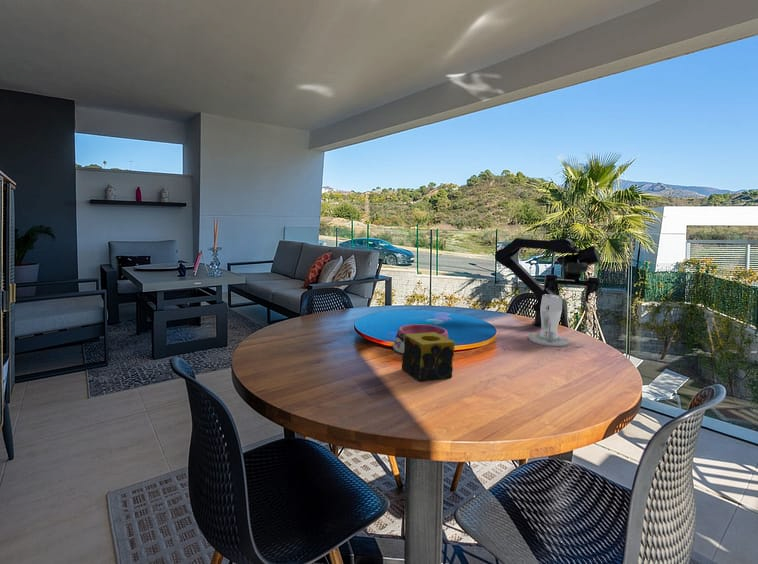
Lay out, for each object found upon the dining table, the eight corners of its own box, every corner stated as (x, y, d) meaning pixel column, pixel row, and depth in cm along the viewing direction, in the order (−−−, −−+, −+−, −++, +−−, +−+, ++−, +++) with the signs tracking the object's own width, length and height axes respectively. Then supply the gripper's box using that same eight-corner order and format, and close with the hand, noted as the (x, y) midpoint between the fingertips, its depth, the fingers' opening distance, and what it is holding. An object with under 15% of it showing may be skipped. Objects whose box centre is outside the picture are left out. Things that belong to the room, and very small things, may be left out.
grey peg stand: (527, 334, 156) (528, 322, 155) (565, 338, 152) (566, 326, 152) (529, 343, 144) (530, 330, 143) (570, 348, 140) (572, 334, 139)
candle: (400, 369, 114) (402, 333, 112) (433, 365, 118) (435, 331, 116) (418, 383, 104) (420, 344, 103) (453, 378, 108) (455, 341, 107)
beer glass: (563, 338, 147) (567, 296, 145) (550, 340, 143) (554, 298, 141) (546, 333, 153) (550, 293, 151) (533, 335, 149) (537, 294, 147)
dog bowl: (384, 343, 138) (385, 323, 137) (435, 340, 144) (437, 321, 143) (404, 361, 121) (405, 338, 120) (462, 357, 127) (463, 335, 126)
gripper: (547, 253, 158) (548, 285, 149) (602, 256, 153) (605, 289, 144) (543, 271, 167) (543, 303, 158) (595, 275, 162) (598, 308, 153)
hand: (572, 301), depth 153 cm, fingers open, 9 cm apart
